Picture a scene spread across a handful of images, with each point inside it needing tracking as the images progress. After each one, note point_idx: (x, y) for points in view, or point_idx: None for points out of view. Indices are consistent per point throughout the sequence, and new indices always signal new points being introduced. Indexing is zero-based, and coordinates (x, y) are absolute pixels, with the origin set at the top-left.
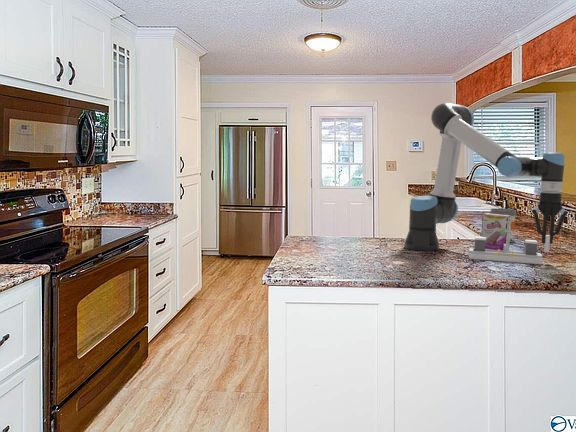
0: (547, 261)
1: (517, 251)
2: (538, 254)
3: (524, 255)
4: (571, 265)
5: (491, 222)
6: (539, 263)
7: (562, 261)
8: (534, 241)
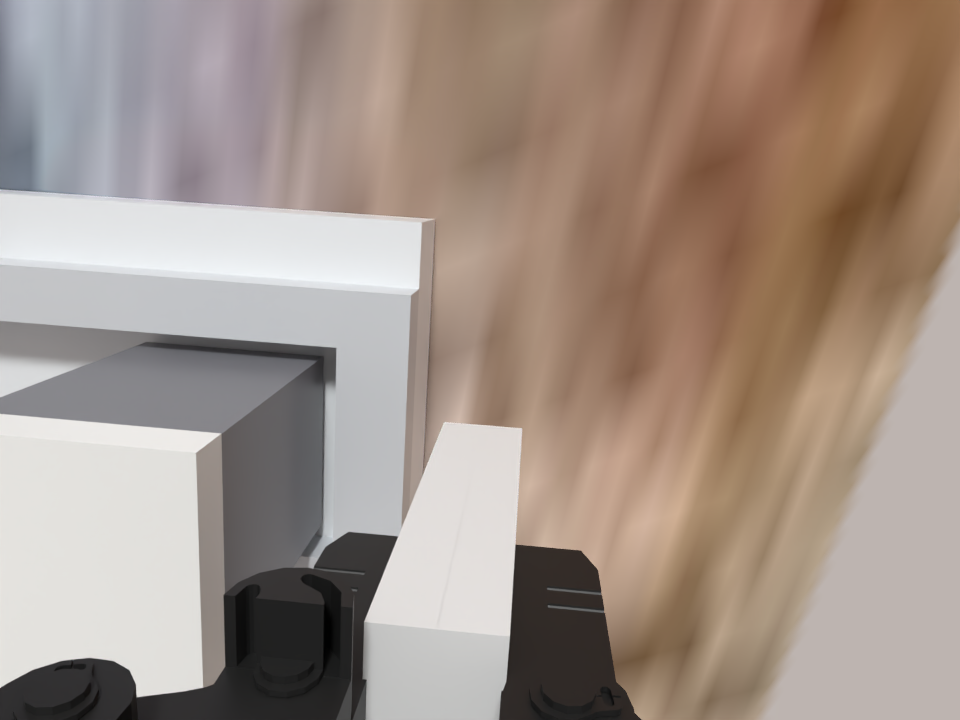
0: (544, 329)
1: (14, 272)
2: (354, 478)
3: None
4: (831, 546)
5: None
6: None
7: (808, 235)
8: None
